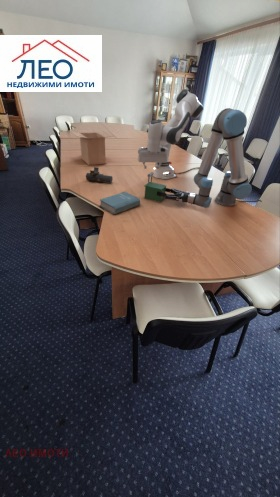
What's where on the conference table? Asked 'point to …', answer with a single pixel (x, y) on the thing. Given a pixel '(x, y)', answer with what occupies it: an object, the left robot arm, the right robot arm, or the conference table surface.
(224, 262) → the conference table surface
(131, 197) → the book
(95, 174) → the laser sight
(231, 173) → the right robot arm
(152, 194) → the chest
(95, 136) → the box
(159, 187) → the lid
